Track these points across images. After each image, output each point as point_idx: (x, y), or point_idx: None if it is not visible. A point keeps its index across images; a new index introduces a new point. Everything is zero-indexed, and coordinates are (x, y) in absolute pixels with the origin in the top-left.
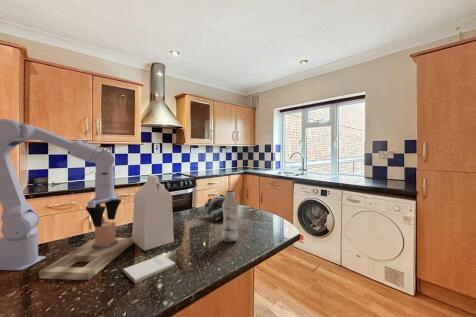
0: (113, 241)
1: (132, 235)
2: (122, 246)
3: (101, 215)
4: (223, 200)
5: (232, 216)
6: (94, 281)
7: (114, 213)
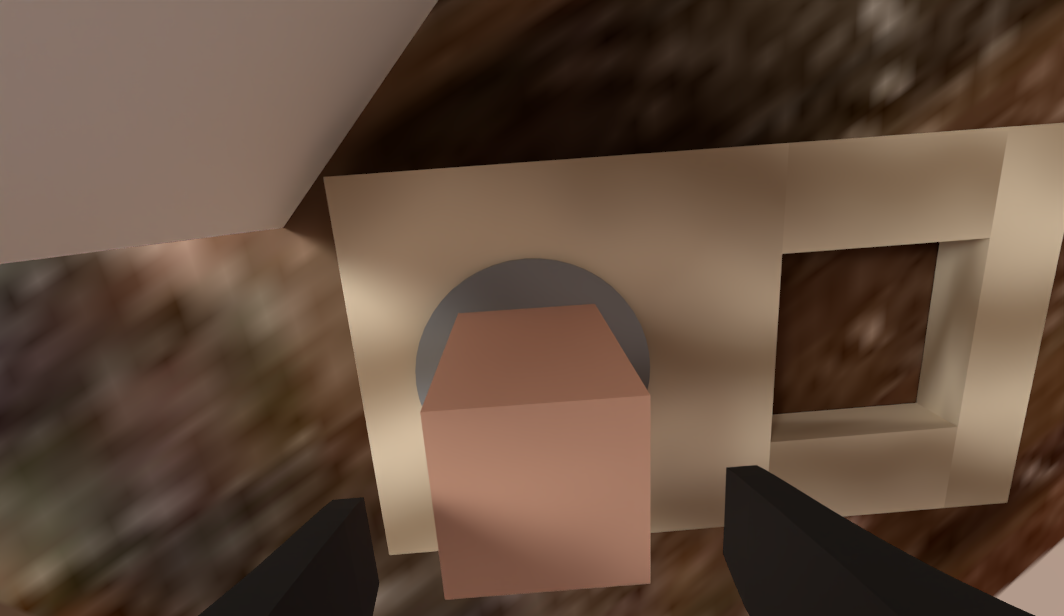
0: (492, 313)
1: (256, 224)
2: (553, 160)
3: (952, 600)
4: None
5: None
6: (1049, 63)
7: (308, 577)
